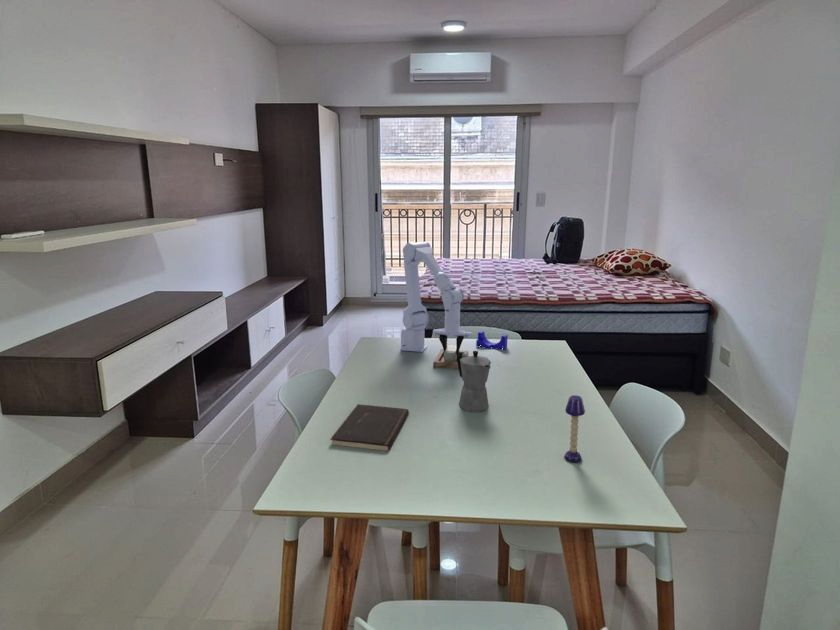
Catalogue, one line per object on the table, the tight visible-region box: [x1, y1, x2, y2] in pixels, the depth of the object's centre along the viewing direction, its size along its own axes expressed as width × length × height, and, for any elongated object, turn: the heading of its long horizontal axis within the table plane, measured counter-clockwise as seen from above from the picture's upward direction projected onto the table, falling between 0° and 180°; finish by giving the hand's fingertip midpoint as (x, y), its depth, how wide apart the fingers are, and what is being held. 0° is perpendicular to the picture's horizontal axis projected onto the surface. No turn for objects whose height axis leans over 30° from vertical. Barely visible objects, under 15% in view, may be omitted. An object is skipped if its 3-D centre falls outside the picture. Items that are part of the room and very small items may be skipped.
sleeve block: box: [444, 344, 457, 362], centre depth 207 cm, size 10×4×4 cm, turn 167°
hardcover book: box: [330, 403, 410, 452], centre depth 152 cm, size 16×23×2 cm
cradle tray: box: [432, 348, 469, 370], centre depth 207 cm, size 11×16×2 cm
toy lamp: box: [563, 394, 586, 464], centre depth 134 cm, size 5×5×17 cm
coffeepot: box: [457, 350, 492, 413], centre depth 166 cm, size 15×9×18 cm, turn 33°
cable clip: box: [475, 330, 509, 351], centre depth 225 cm, size 12×4×6 cm, turn 61°
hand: (451, 354), depth 207 cm, fingers closed on sleeve block, 4 cm apart
